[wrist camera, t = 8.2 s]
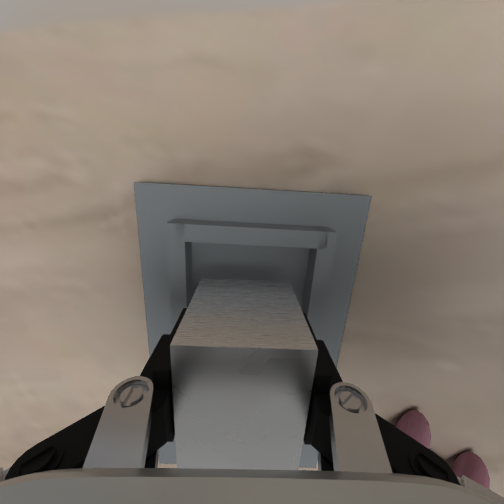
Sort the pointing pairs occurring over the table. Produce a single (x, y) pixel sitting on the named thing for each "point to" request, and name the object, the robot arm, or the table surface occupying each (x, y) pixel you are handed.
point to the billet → (242, 376)
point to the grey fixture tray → (249, 254)
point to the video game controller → (420, 431)
